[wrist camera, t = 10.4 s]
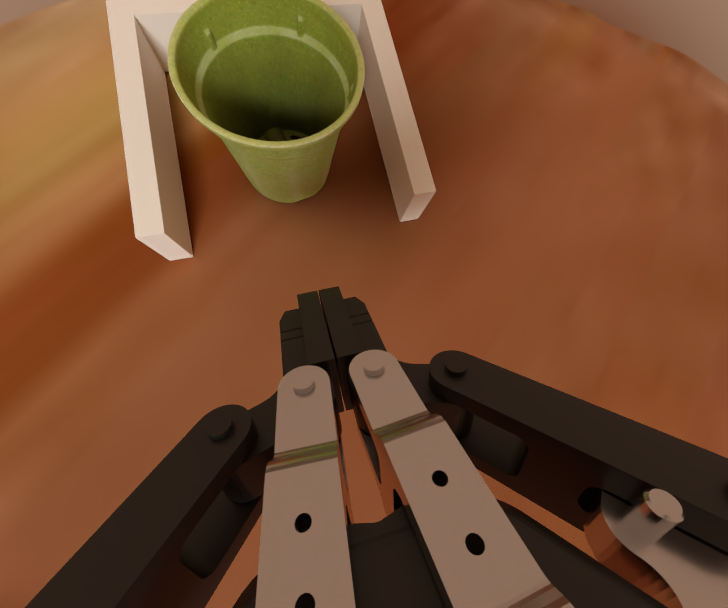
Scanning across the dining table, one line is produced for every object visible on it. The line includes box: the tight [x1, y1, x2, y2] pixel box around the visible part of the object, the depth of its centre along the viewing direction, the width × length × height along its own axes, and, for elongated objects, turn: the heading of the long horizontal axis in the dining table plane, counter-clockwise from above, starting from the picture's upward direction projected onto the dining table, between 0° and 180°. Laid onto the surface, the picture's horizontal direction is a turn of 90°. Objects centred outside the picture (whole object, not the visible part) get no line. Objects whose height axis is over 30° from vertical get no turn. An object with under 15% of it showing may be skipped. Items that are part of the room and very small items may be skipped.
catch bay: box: [106, 0, 436, 261], centre depth 22 cm, size 18×16×4 cm
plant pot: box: [168, 0, 365, 203], centre depth 19 cm, size 9×9×9 cm
